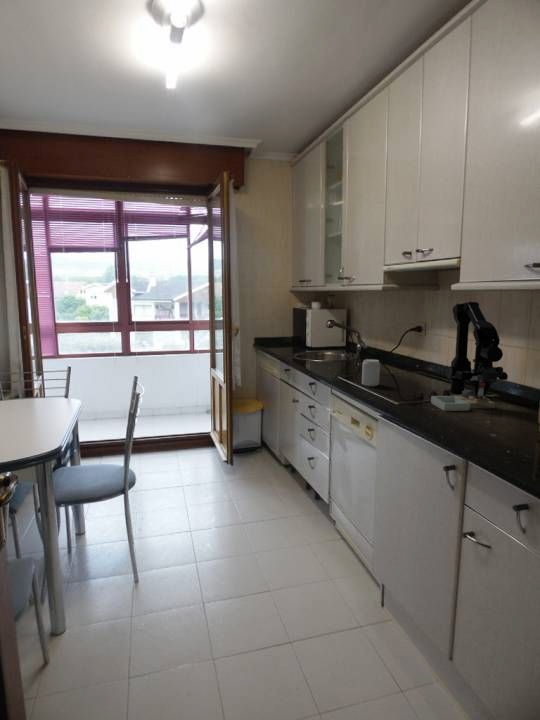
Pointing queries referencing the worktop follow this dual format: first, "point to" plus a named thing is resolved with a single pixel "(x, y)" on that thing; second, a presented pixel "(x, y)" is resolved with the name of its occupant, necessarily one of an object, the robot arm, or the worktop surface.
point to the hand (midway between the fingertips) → (479, 396)
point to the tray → (450, 403)
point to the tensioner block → (475, 400)
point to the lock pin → (480, 390)
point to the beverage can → (370, 372)
